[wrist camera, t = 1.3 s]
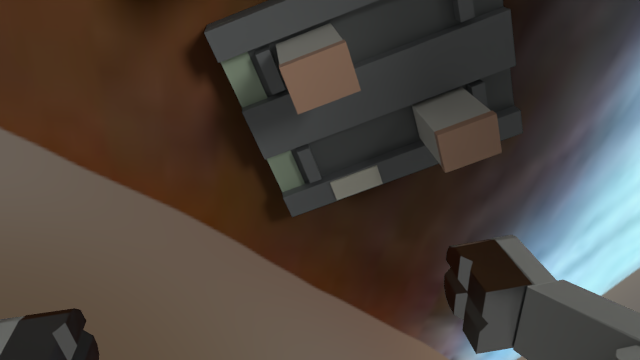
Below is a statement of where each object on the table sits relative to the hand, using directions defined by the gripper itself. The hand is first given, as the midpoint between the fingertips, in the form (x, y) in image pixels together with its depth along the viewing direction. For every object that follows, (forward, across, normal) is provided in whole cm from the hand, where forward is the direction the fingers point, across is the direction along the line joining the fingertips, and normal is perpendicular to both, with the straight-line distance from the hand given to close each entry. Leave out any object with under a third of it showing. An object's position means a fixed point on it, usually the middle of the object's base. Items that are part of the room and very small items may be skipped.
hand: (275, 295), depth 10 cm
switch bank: (+25, -9, +4) cm, 27 cm away
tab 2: (+23, -14, +6) cm, 28 cm away
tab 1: (+24, -4, +1) cm, 24 cm away
